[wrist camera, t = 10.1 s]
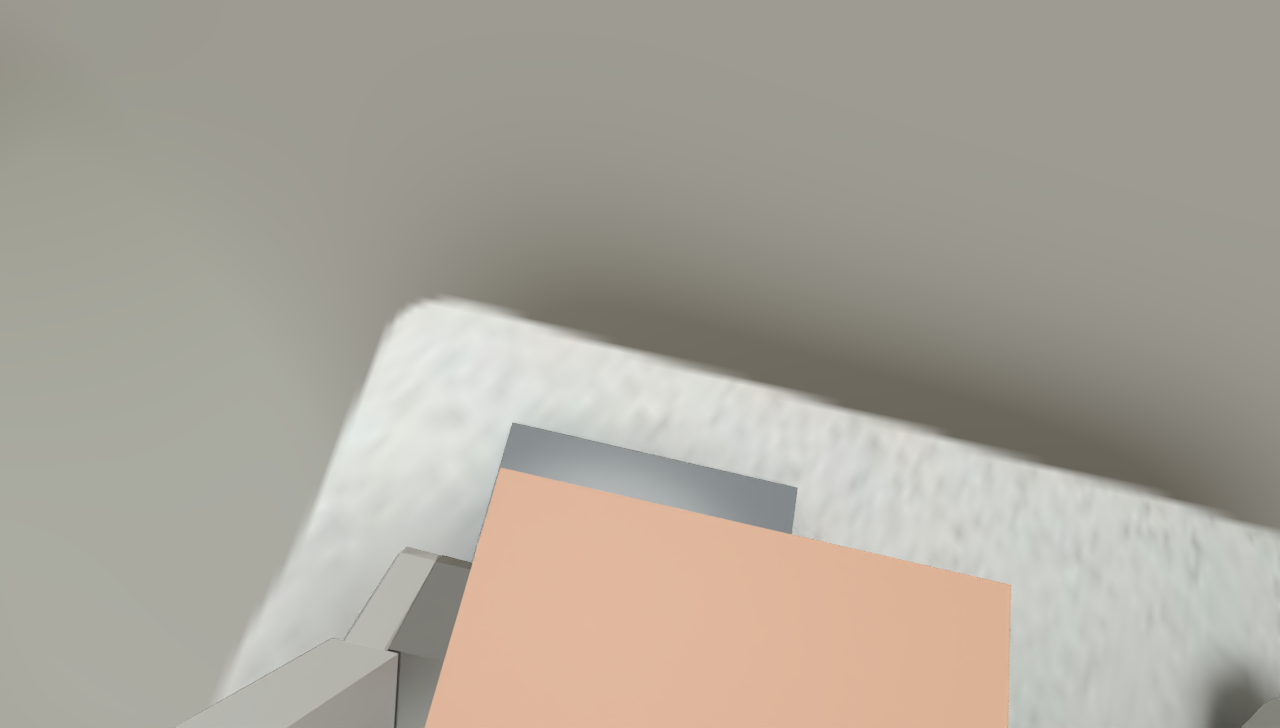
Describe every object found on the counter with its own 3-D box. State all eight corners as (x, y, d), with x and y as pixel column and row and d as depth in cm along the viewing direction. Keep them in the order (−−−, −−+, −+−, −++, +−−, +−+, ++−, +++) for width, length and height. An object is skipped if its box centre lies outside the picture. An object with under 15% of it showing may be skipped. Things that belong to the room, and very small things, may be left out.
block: (777, 584, 14) (1011, 585, 6) (756, 741, 13) (1004, 973, 5) (549, 531, 14) (500, 467, 6) (510, 684, 13) (393, 833, 5)
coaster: (790, 491, 27) (797, 488, 26) (746, 816, 23) (752, 826, 22) (515, 428, 27) (512, 422, 26) (424, 742, 23) (417, 749, 22)
